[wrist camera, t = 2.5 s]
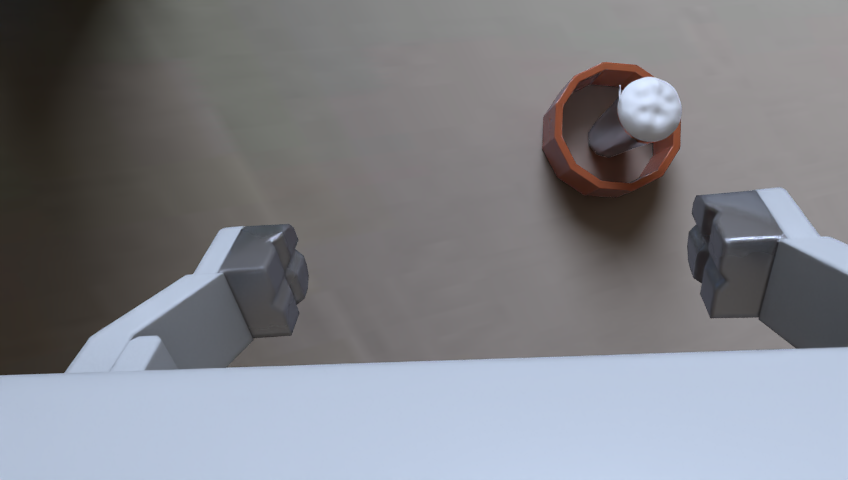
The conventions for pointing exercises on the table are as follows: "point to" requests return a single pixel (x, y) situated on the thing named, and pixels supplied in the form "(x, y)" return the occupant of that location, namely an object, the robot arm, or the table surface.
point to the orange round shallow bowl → (561, 155)
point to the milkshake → (637, 117)
